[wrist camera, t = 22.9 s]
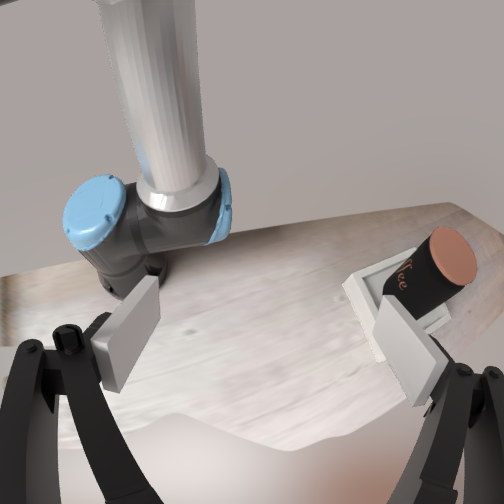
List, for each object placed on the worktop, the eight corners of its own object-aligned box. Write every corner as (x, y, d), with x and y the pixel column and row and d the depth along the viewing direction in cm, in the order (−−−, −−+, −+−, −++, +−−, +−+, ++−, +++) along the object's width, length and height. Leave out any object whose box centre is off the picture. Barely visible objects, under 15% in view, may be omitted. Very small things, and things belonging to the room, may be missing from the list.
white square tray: (341, 285, 58) (352, 273, 52) (402, 259, 61) (415, 246, 56) (376, 363, 50) (391, 359, 45) (435, 326, 54) (451, 318, 48)
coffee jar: (395, 267, 56) (443, 216, 41) (427, 301, 52) (482, 258, 37) (370, 298, 51) (422, 247, 36) (406, 335, 48) (468, 296, 33)
